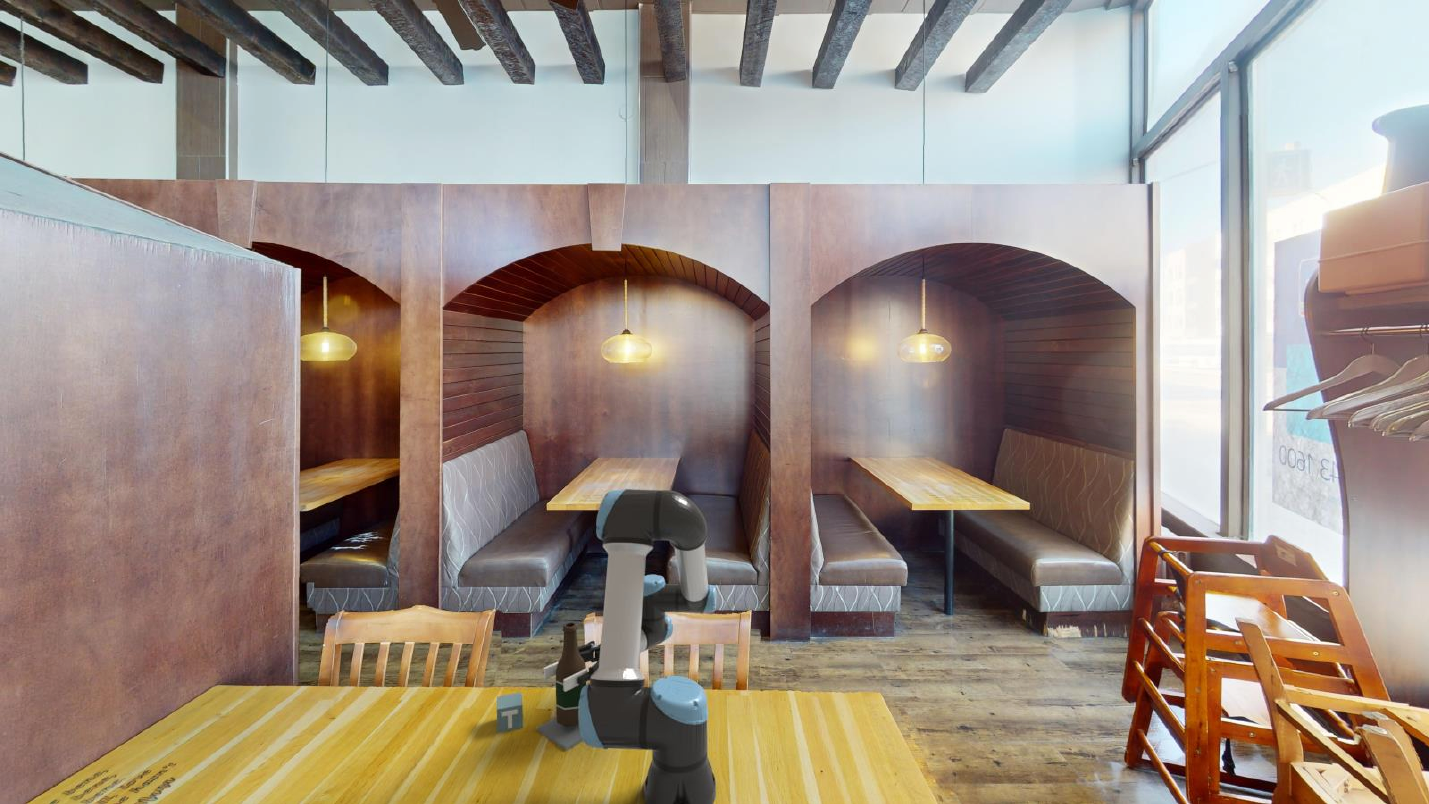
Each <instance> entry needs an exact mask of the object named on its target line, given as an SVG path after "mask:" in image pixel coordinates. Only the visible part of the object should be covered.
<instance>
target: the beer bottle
mask: <svg viewBox="0 0 1429 804" xmlns="http://www.w3.org/2000/svg"><path fill="white" fill-rule="evenodd" d="M577 630H578V624H577V623H575V622H566V623H564V624H563V626H562V632H563V645H562V653H563V655H562V654H561V657H560V659H559V660H558V661H559V662H558V665H557V669H556V675H555V708H556V709H555V710H556V711H555V713H556V716H555V717H557V723H559V724H561V725H563V726H565V727H569V726H577V725H579V719H578V708H579V700H580V694H581V690H582V688H583V687H584V686H585V685H587V682H585V683H583V684H580V685H578V686H576V687H574V688H572V689H570V690H568V691H566V692H565V691H564V689H563V680H564V679H566V678H568V677H570V676H572V675H574V674H576V673H578V672H580V671H582V670H584V669H587V667H586V662H584V660H583V658H582V657H581V656H580V654H579V651H578V647H579V646H578V634H577Z"/></svg>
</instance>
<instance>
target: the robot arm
mask: <svg viewBox="0 0 1429 804" xmlns="http://www.w3.org/2000/svg"><path fill="white" fill-rule="evenodd" d="M707 525H708V524H707V521H706V519H705V517H704V515H703V513H702V511H701V510H700V509H699V508H698V506H697V505H696V504H695V503H694V502H693V501H692V500H691V499H690V498H688V497H687V496H685V495H683V494H681V493H680V492H677V491H675V490H670V489H663V490H661V489H659V490H658V489H656V490H653V489H633V488H632V489H631V488H629V489H628V488H625V489H615V490H614V489H613V490H609V491H608V492H607V493H606V494H605V495H604V496H603V498H602V500H601V502H600V505H599V507H598V513H597V515H596V525H595V526H596V529H595V530H596V531H595V532H596V533H595V534H596V536H597V538H598V539H599V540H601V541H602V548H603V549H604V550H605V551H606V553H607V555H608V556H607V557H608V558H607V567H606V568H607V569H606V570H607V571H606V578H605V579H606V580H605V590H604V591H605V592H604V601H603V602H604V603H603V613H602V615H603V616H602V623H601V624H602V626H601V634H600V637H601V638H600V644H596V643H595V642H596V641H594V640H592V641H591V640H590V641H589V642H588V643H586V644H583V645H581V646H578V651H579V654H580V656H581V657H582V658H583V660H584V662H585V663H588V662H591V663H594V664H593V665H592V666H589V667H588V669H587V668H586V669H584V670H582V671H580V672H578V673H576V674H574V675H572V676H570V677H568V678H566V679H564V680H563V689H564V691H565V692H566V691H568V690H570V689H572V688H574V687H576V686H578V685H580V684H583V683H585V682H586V685H585V686H584V687H583V688H582V690H581V694H580V700H579V708H578V719H579V729H580V734H581V737H582V739H583V741H582V742H583V743H584V744H585V745H586V746H588V747H590V748H599V749H603V750H608V749H616V750H617V749H618V750H620V749H621V750H637V751H638V750H642V751H644V750H645V751H651V753H652V755H651V757H652V758H651V761H650V765H649V767H648V772H647V775H646V777H645V780H644V785H643V799H644V802H645V804H714V802H715V800H716V796H717V792H716V791H717V783H716V782H717V781H716V777H715V774H714V773H713V770H712V769H713V768H712V765H711V763H710V759H709V756H708V755H709V754H708V747H709V746H708V719H709V709H708V697H707V693H706V691H705V690H704V688H703V687H702V686H701V685H700V684H698V682H696V681H695V680H693V679H690V678H688V677H684V676H678V675H667V676H665V677H660V678H658V679H657V680H655V681H654V682H653V684H652V686H645V682H646V681H645V680H646V678H645V677H646V676H644V674H643V673H642V672H641V670H640V669H639V668H640V667H639V666H640V665H639V664H640V654H641V653H644V652H646V651H648V650H650V649H652V648H654V647H655V646H657V645H660V644H663V642H665V641H667V640H668V639H670V638H671V637H672V635H673V632H674V624H673V623H672V618H671V617H670V616H669V615H668V614H667V613H686V614H689V613H690V614H691V613H692V614H712V613H714V612H715V611H716V610H717V609H716V608H717V587H716V586H715V585H712V584H709V581H708V579H709V578H708V569H707V559H706V547H705V543H706V541H707V539H708V526H707ZM654 541H669V543H670V545H671V546H672V547H673V548H674V555H675V561H676V567H677V573H678V579H679V584H678V583H673V584H672V583H666V580H665V578H664V576H662V575H657V574H647V575H645V574H646V559H647V558H646V557H647V556H648V554H649V553H650V552H652V550H653V549H654ZM562 655H563V652H562V653H561V656H562ZM558 662H559V660H557V661H555V662H553V663H551V664H550V665H547V666H545V667H543V668H542V669H543V674H542V676H543V680H545V681H546V680H548V679H550V678H552V677H555V676H556V669H557V665H558ZM588 681H589V683H588V684H587V682H588Z"/></svg>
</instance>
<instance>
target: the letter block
mask: <svg viewBox="0 0 1429 804" xmlns="http://www.w3.org/2000/svg"><path fill="white" fill-rule="evenodd" d="M523 711H524V710H523V695H522V692H521V691H520V692H516V693H510V694H509V693H508V694H506V695H505V694H504V695H500V696H499V695H498V696H497V697H496V726H497V727H496V730H497V733H503V732H508V731H513V730H519V729H522V728H524V721H523V720H524V719H523V717H524V715H523V714H524V713H523Z"/></svg>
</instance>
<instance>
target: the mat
mask: <svg viewBox="0 0 1429 804" xmlns="http://www.w3.org/2000/svg"><path fill="white" fill-rule="evenodd" d="M536 731H537V732H538V733H540V735H543V736H544V737H545V738H547V739H549V740H550V741H551V742H553V743H555V744H556V745H557V746H559V747H560V748H561V749H562V750H565V751H568V750H571V749H572V748H574V747H575V746H577V745H578V744H580V743H582V742H584V741H583V739H582V737H581V734H580V729H579V725H577V726H569V727H565V726H563V725H561V724H559V723H557V716H555V717H554V718H552V719H550V720H548V721H546V722H545V723H543V724H540V725H539V726H537V727H536Z"/></svg>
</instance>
